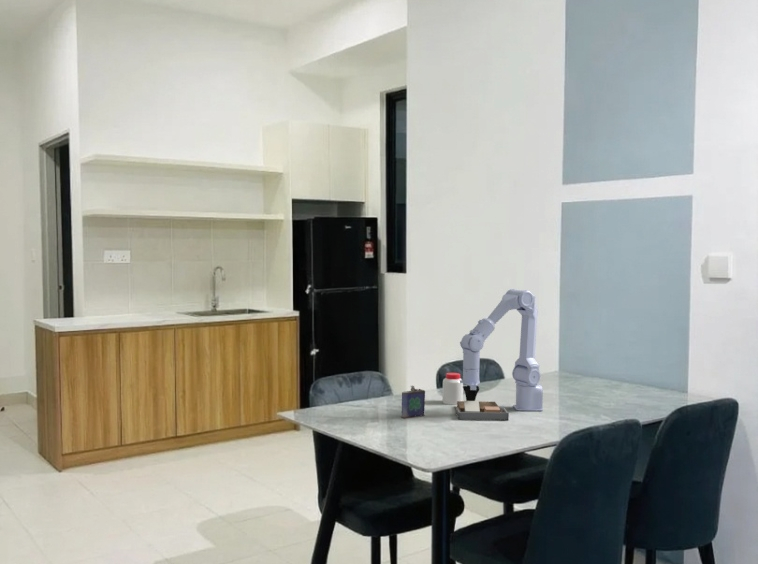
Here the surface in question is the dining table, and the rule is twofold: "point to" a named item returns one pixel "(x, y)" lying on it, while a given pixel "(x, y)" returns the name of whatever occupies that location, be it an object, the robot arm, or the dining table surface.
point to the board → (481, 405)
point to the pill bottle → (452, 389)
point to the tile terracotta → (491, 409)
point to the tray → (482, 415)
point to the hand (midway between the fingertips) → (470, 406)
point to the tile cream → (471, 406)
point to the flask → (413, 403)
